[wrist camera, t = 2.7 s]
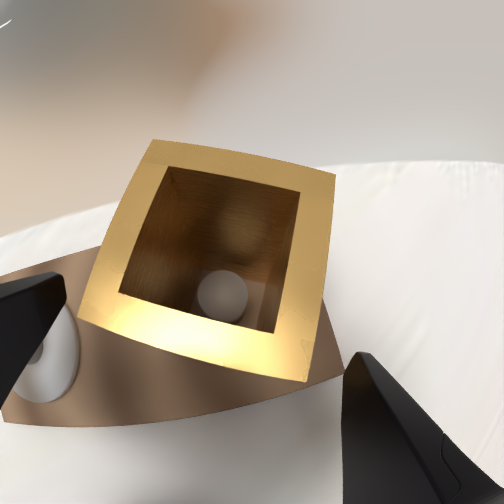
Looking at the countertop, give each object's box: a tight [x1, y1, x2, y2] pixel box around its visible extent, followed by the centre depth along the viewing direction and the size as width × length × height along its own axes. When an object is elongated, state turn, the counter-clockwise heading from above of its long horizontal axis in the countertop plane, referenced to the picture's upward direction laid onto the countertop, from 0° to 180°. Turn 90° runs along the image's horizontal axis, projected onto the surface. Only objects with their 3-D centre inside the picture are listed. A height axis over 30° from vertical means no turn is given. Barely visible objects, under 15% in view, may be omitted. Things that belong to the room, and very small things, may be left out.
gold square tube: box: [77, 139, 336, 382], centre depth 12 cm, size 6×6×10 cm
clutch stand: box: [0, 246, 345, 427], centre depth 14 cm, size 26×12×6 cm, turn 105°
